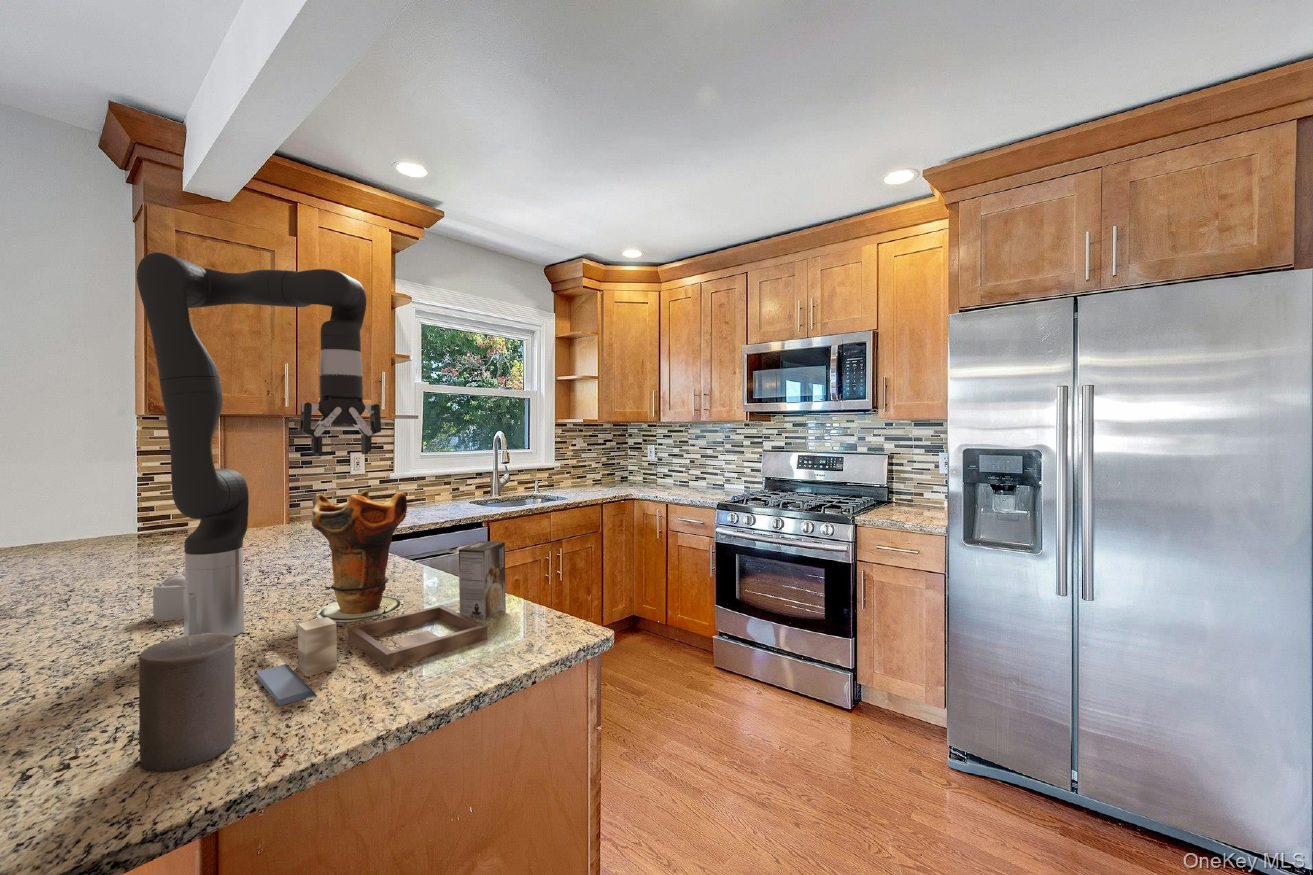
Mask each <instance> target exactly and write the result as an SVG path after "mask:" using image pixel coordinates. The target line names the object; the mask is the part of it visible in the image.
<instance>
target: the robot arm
mask: <svg viewBox="0 0 1313 875" xmlns="http://www.w3.org/2000/svg"><path fill="white" fill-rule="evenodd" d="M136 283H137V288H138V291H139V295H140V298H141V301H142V304H143V305H142V307H143V308H144V311H145V315H146V319H147V321H148V326H149V329H150V333H151V339H152V345H153V348H154V349H153V350H154V354H155V358H156V365H157V370H158V381H159V387H160V392H161V397H162V398H161V399H162V402H163V407H164V412H165V419H166V425H167V426H166V427H167V434H168V441H169V449H170V452H169V453H170V473H171V476H170V477H171V482H170V483H171V492H172V493H171V494H172V499H173V502H174V505H175V507H176V508H177V510H178V511H179V512H180V513H181V514H182V515H183V516H184V517H187V518H188V519H189V518H190V519H193V520H195V519H196V520H198V519H200V520H199V524H198V525H197V527H196V528H195V530H194V531H193V532H191V534H189V535H188V536H186V538H185V540H184V545H183V546H184V572H185V589H184V591H183V601H184V619H183V637H184V636H190V635H196V634H203V633H221V634H228V635H232V636H233V637H236V636H237V635H240V634H242V633H243V632H244V630H245V596H244V594H245V593H244V592H245V591H244V538H245V535H246V533H247V531H248V523H249V501H250V497H249V487H248V484H247V481H246V479H245V477H244V475H242V474H241V473H240V472H238V471H236V470H234V469H232V468H216V467H215V462H214V458H213V457H214V456H213V448H212V447H213V446H212V444H213V442H212V441H213V437H214V433H215V430H216V428H217V426H218V422H219V419H220V418H221V417H220V416H221V415H222V410H223V405H224V399H223V398H224V397H223V390H222V384H221V378H220V374H219V371H218V367H217V366H216V363H215V361H214V360H213V358H212V357H211V355H210V353H209V351H208V350H207V349H206V347H205V345H204V344H203V343H202V341H201V339H200V338H199V336H198V335H197V333H196V331H195V329H194V326H193V325H192V321H191V317H190V312H189V309H197V308H207V307H215V306H223V305H224V306H225V305H259V306H271V307H289V308H290V307H291V308H305V307H309V306H311V305H318V306H319V305H320V306H327V307H331V310H330V311H331V312H330V318H329V320H327V321H324V322H323V323H322V324H321V326H320V356H319V401H318V403H313V402H310V401H309V402H302V403H300V418H299V432H300V433H301V434H305V435H307V436H309V437H310V438H311V440H310V441H311V444H310V445H311V452H312V454H314V456H315V457H322V456H323V437H322V436H321V435H322V434H323V433H324V432H325V431H326V430H327V428H328V427H330V425H331V426H332V425H333V426H334V425H335V426H337V425H338V426H340V425H345V426H346V425H347V426H349V425H350V426H351V425H352V426H354V428H356V429H357V430H358V431H359V433H360V434H362V436H361V437H360V438H361V440H360V442H361V444H360V448H361V449H360V453H361V455H369V454H370V452H372V448H373V447H372V446H373V445H372V440H373V439H372V438H373V437H372V436H374V435H375V434H379V433H382V420H381V419H382V418H381V407H380V405H379V403H372V404H365V403H364V401H363V399H364V397H363V396H364V392H363V389H364V388H363V384H364V382H363V379H364V378H363V377H364V376H363V374H364V370H363V369H364V368H363V360H362V340H361V336H362V335H361V330H362V327H363V324H364V318H365V316H366V309H367V295H366V293H367V292H366V290H365V288H364V286H363V285H362V283H361V282H360V281H358V280H357V279H355V278H353V277H351V276H349V275H347V274H345V273H343V272H341V271H338V270H336V269H335V270H334V269H328V268H327V269H326V268H317V269H308V270H301V271H297V270H285V269H257V270H251V271H247V272H240V273H238V272H237V273H234V272H226V271H225V272H224V271H219V270H216V269H211V268H206V267H203V266H200V265H198V264H197V263H194V262H192V261H189V260H186V259H183V258H180V257H177V256H174V255H172V254H169V253H165V252H151V253H149V254H147V255H145V256H143V258H142V259H141V260H140V262H139V263H138V266H137V269H136ZM316 410H317V411H318V412H319V413H320V414H321V418H320V419H319V421H318V422H317V423H316V425H314V427H313V428H311V427H312V415H313V414H315V412H316ZM365 411H366V414H367V415H369V423H370V424H369V425H370V427H369V426H368V424H367V422H366V421H365V420H364V418H363V417H362V415H363V414H364V412H365Z"/></svg>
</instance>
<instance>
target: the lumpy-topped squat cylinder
mask: <svg viewBox="0 0 1313 875" xmlns="http://www.w3.org/2000/svg"><path fill="white" fill-rule="evenodd" d="M184 589H185V571H184V572H182V573H181V574H173V575H170V576H168V577H166V578H165V579H164V580H163V581H161V582H158V583H156V584H154V585H153V586H152V610H153V611H152V612H153V620H155V621H177V620H184V601H183V591H184Z"/></svg>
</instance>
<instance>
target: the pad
mask: <svg viewBox="0 0 1313 875" xmlns="http://www.w3.org/2000/svg"><path fill="white" fill-rule="evenodd" d="M256 679H257V680H258V681H259V682H260V683H261V685H262V686H263V687H264V689H265V690H266V691H267V692H268V694H269V695H270V697H272V699H274V702H276V704H277V705H278V706H279V707H281V706H285V705H288V704H291V703H294V702H298V701H300V700H304V699H308V698H310V697H314V696H316V695H317V694H316V692H315V691H314V690H312V688H311V687H310V686H309V685H307V683H306V682H305V681H304V680H303V679H302V678H301V677H300V676H299V675H298V674H297V672H296V671H294V670H293V669H292V668H291V667H290V666H289V664H288V663H284V664H281V665H277V666H273V667H270V668H269V667H268V668H265V669H262V670H258V671H256Z"/></svg>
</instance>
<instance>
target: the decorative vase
mask: <svg viewBox="0 0 1313 875" xmlns="http://www.w3.org/2000/svg"><path fill="white" fill-rule="evenodd" d="M369 494H370V491H369V490H368V489H367V490H366V489H365V490H362V491H361V493H359V494H350V495H349V499H348V501H346V502H343V503H340V504H334V503H331V502H330V501H329V499H328V497H327V496H326V495H325V494H323V493H316V494H315V495H314V496H313V498H312V501H311V502H312V506H313V508H312V509H313V510H312V519H311V527H313V529H314V530H316V531H318V532H319V533H321V535H322V536H324V538H325V539H326V540H327V542H328V543H329V544H328V545H329V549H330V551H331V566H332V576H333V581H334V582H333V583H332V584H331V586H330V587H329V588H328V589H330V590H333V591H334V596H335V598H336V602H335V601H334V602H331V603H329V604H328V605H324V603H325V601H326V599H327V596H328V592H327V593H326V595H325V596H324V599H323V603H322V605H321V606H320V607H321V609H319V610H318V611H317V612H316V614H315V616H316V618H317V619H321V618H325V617H328V618H330V619H331V620H333V621H334V622H335V623H338V622H339V623H346V622H347V623H350V622H356V621H360V620H364V619H365V620H366V619H368V618H373V617H378V616H383V615H388V614H390V613H395V612H396V610H400V609H401V608H402V607H403V606H404V603H405V601H404V600H403V599H397V598H394V597H390V596H387V595H385V596H384V594H383V593H384V592H385V591H386V584H387V583H388V582H389V578H388V577H387V576H386V571H387V568H388V567H387V566H388V562H389V554H390V546H391V544H392V541H393V540H392V538H393V535H394V533H395V531H396V529H397V528H398V526H400V524H402V522H403V521H404V520H405V519H406V515H407V510H408V503H407V501H408V500H407V494H405V493H404V492H401V491H398V492H396V493H395V494H394V495H393V496H392V497H391V498H390V499H389V500H388V501H373V500H372V499H371V498H370V495H369ZM381 602H383V603H381ZM380 604H387V605H383V606H380ZM401 604H403V605H401ZM381 607H385V608H381ZM386 607H387V608H386ZM374 610H375V611H374ZM363 615H364V616H363Z"/></svg>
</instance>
